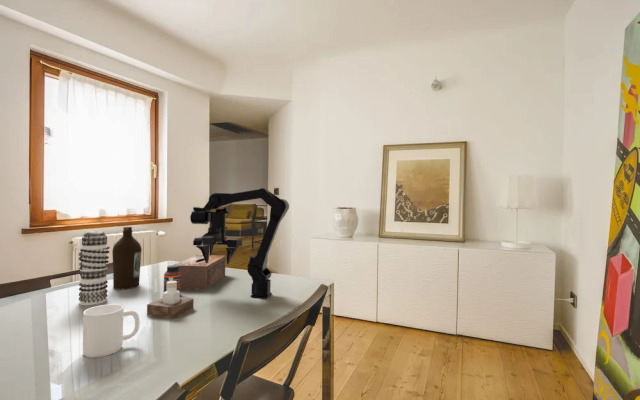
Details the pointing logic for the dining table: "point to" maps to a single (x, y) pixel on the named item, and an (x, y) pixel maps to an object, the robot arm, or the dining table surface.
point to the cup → (105, 329)
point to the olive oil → (126, 261)
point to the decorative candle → (93, 268)
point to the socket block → (169, 308)
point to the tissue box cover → (201, 271)
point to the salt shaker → (171, 293)
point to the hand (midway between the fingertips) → (217, 263)
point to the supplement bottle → (172, 276)
